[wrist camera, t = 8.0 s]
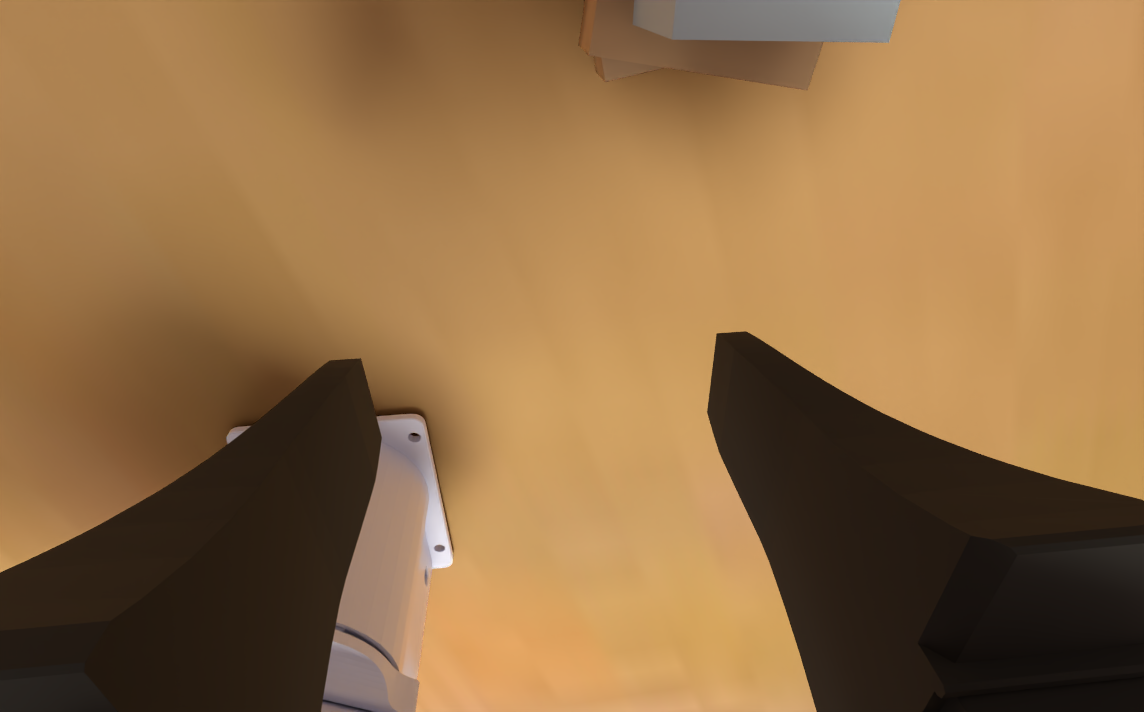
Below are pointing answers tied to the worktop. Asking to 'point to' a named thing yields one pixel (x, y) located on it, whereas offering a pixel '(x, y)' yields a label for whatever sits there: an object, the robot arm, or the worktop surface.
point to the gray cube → (769, 19)
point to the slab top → (694, 49)
